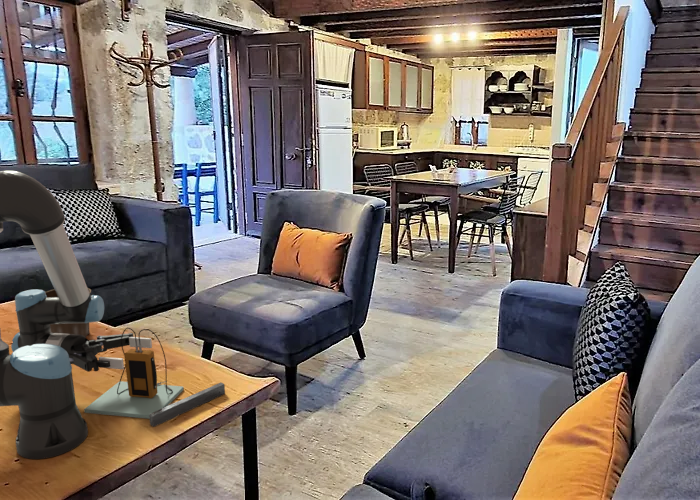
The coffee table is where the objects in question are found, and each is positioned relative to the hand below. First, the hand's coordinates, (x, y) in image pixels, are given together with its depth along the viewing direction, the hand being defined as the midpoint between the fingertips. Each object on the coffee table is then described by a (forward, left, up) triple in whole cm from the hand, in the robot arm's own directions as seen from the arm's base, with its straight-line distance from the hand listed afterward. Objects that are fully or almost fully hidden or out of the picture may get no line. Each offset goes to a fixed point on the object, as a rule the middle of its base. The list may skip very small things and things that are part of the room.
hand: (137, 353), depth 147 cm
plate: (-1, +1, -14) cm, 14 cm away
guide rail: (-3, -15, -14) cm, 21 cm away
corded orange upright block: (+4, 0, -13) cm, 13 cm away
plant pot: (+38, +50, -14) cm, 64 cm away
